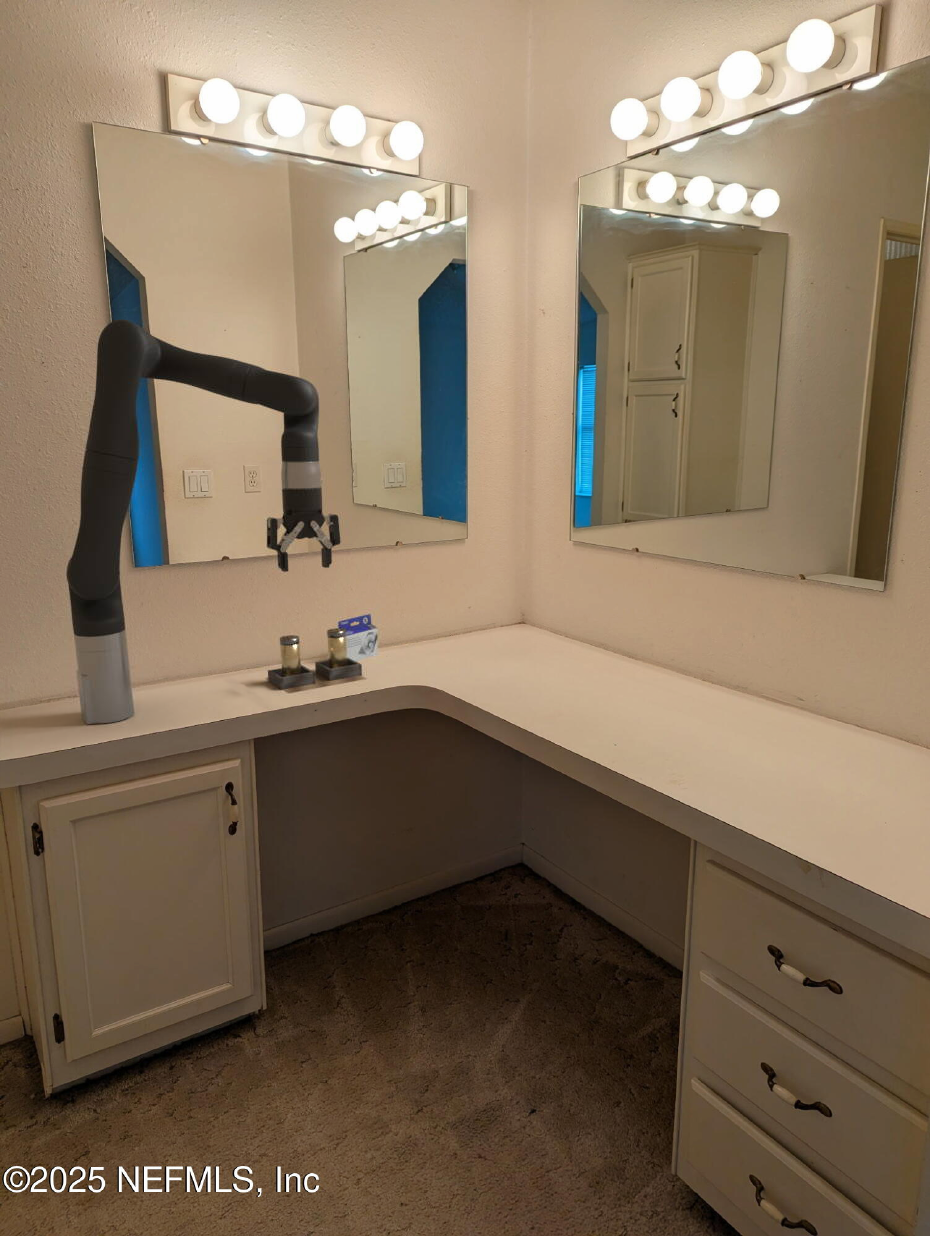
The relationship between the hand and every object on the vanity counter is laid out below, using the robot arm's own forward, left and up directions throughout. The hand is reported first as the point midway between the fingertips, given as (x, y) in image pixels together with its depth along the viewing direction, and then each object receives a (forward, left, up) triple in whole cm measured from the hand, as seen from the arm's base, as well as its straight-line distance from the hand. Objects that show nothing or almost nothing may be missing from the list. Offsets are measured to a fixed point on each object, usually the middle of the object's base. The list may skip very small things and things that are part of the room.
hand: (305, 569), depth 166 cm
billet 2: (+12, +13, -26) cm, 32 cm away
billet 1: (+1, +13, -26) cm, 29 cm away
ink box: (+21, +23, -28) cm, 42 cm away
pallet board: (+6, +13, -28) cm, 31 cm away
